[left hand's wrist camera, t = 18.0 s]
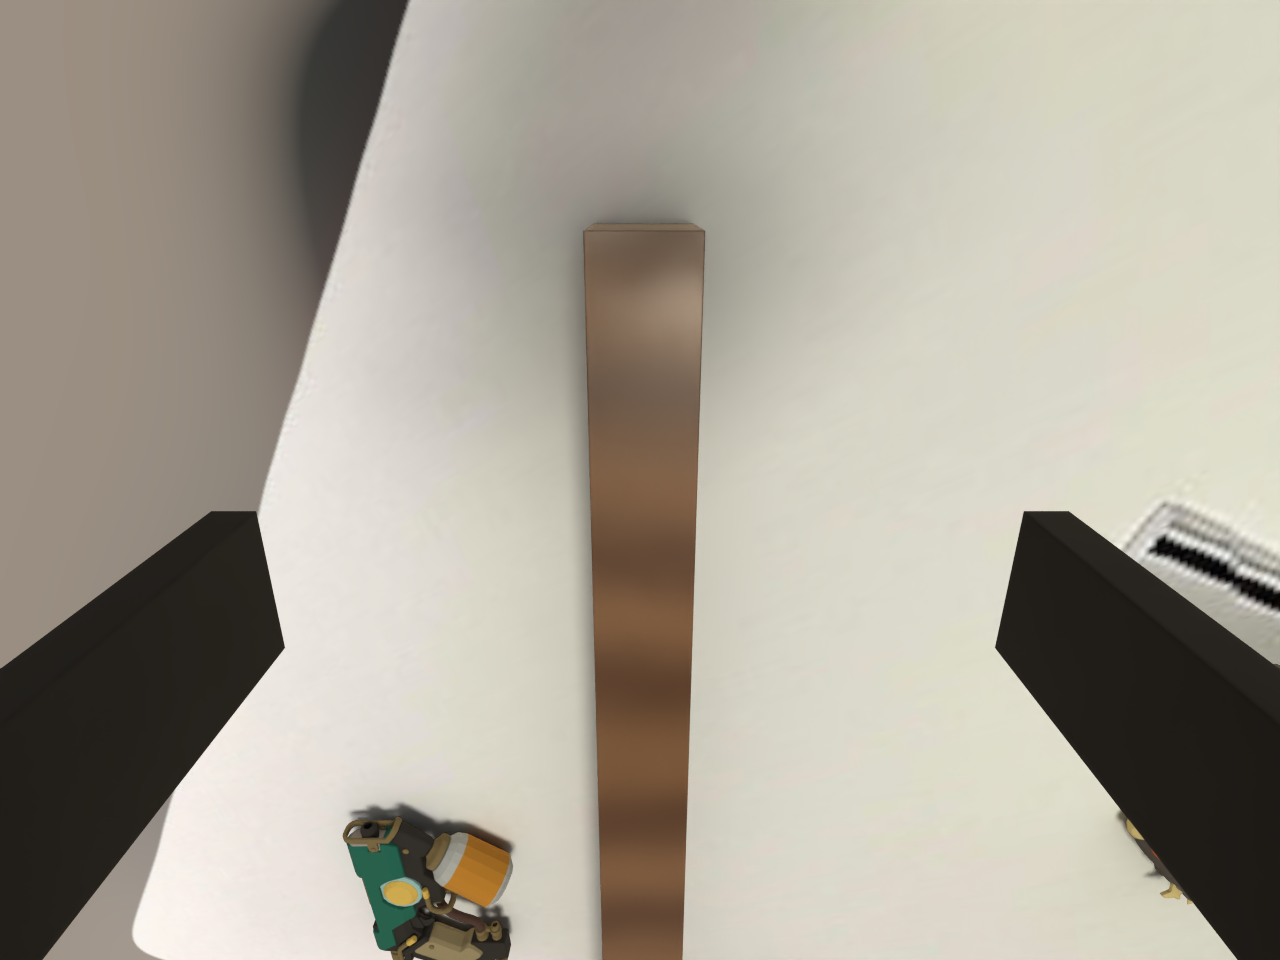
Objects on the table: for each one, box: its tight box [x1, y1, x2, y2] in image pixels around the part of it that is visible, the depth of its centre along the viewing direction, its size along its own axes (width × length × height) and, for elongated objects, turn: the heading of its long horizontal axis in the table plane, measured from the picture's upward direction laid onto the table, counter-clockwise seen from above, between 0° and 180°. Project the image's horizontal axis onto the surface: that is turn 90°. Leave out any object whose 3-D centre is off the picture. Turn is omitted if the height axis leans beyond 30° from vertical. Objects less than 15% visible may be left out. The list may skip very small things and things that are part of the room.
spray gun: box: [343, 816, 513, 960], centre depth 61 cm, size 4×17×15 cm
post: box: [583, 224, 705, 960], centre depth 53 cm, size 75×6×8 cm, turn 0°
